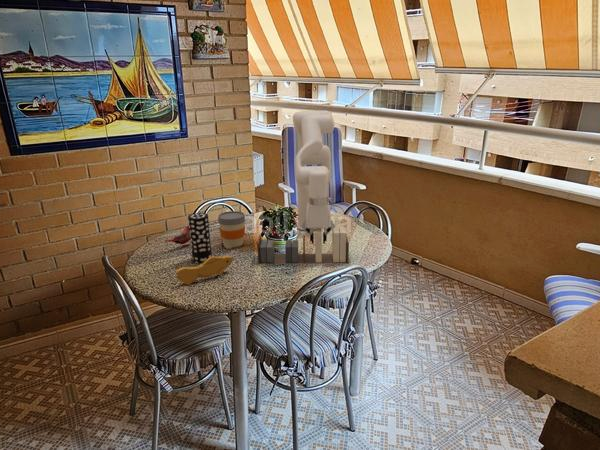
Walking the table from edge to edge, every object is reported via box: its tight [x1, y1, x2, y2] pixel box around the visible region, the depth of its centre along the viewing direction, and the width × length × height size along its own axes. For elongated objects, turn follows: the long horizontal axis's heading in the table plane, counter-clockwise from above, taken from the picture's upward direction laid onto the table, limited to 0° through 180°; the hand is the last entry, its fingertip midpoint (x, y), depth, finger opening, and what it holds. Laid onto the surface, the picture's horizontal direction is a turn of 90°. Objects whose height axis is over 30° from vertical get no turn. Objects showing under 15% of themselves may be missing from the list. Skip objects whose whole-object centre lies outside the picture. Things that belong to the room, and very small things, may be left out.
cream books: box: [331, 225, 347, 262], centre depth 171 cm, size 8×5×13 cm, turn 178°
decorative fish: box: [175, 254, 233, 285], centre depth 159 cm, size 22×3×10 cm, turn 118°
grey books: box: [260, 239, 299, 263], centre depth 173 cm, size 8×16×7 cm, turn 88°
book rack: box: [256, 233, 350, 265], centre depth 173 cm, size 10×38×10 cm, turn 88°
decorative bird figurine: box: [164, 224, 191, 248], centre depth 190 cm, size 3×18×10 cm, turn 140°
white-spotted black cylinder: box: [187, 212, 213, 264], centre depth 175 cm, size 8×8×20 cm
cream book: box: [314, 228, 323, 263], centre depth 171 cm, size 8×2×13 cm, turn 178°
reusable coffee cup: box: [217, 210, 246, 250], centre depth 190 cm, size 13×13×15 cm
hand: (318, 242), depth 171 cm, fingers open, 4 cm apart
